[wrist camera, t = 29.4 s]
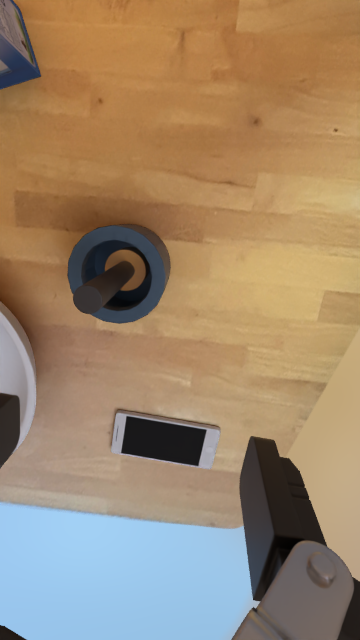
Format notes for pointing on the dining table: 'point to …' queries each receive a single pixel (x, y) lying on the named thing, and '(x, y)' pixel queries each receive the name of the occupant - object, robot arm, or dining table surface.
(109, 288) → the plunger
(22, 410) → the bowl
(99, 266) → the jar
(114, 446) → the smartphone
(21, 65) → the milk carton
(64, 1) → the dining table surface
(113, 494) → the dining table surface
